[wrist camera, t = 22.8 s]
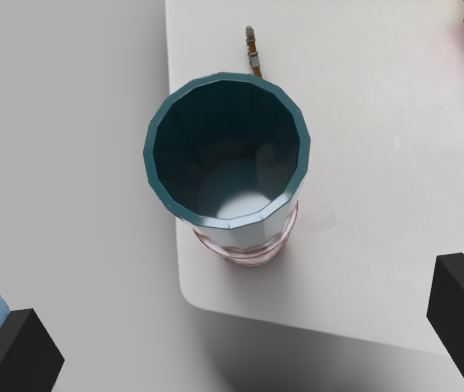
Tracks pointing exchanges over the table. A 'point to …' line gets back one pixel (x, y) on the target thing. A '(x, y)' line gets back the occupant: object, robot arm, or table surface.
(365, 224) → the table surface
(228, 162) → the cup
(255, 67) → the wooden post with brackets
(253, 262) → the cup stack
